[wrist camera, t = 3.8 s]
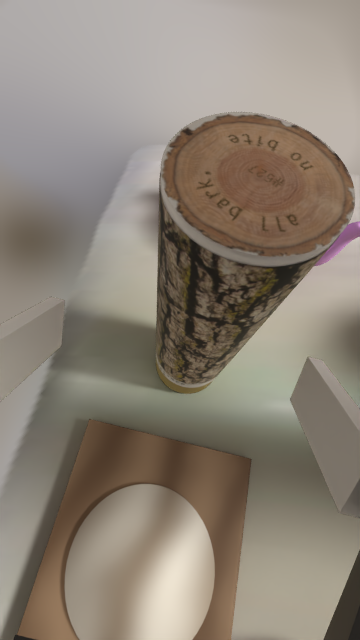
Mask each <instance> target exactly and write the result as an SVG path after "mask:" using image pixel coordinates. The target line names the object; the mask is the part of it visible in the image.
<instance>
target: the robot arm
mask: <svg viewBox="0 0 360 640" xmlns="http://www.w3.org/2000/svg"><path fill="white" fill-rule="evenodd" d="M64 306H65V300H63V299H58V298H54V297H49V298H48V299H46V300H44V301H42V302H40V303H38V304H37V305H35V306H33V307H31V308H29V309H27V310H26V311H24V312H22V313H20V314H18V315H16V316H14V317H13V318H11V319H9V320H7V321H5V322H3V323H1V324H0V402H1V401H2V400H3V399H4V398H5V397H6V396H7V395H8V394H9V393H11V392H12V391H13V390H14V389H15V388H16V387H17V386H18V385H19V384H20V383H21V382H23V381H24V380H25V379H26V378H27V377H28V376H29V375H30V374H31V373H32V372H33V371H35V370H36V369H37V368H38V367H39V366H40V365H41V364H42V363H43V362H44V361H46V360H47V359H48V358H49V357H50V356H51V355H52V354H53V353H54V352H55V351H56V350H58V349H59V348H60V347H61V346H62V332H63V319H64ZM290 401H291V403H292V405H293V408H294V410H295V412H296V415H297V417H298V419H299V421H300V424H301V426H302V428H303V431H304V433H305V435H306V438H307V440H308V442H309V444H310V447H311V449H312V451H313V454H314V456H315V458H316V461H317V463H318V465H319V467H320V470H321V472H322V474H323V477H324V479H325V481H326V484H327V486H328V488H329V490H330V493H331V495H332V497H333V500H334V502H335V504H336V507H337V509H338V511H339V513H341V514H345V515H349V516H353V517H358V518H360V409H359V407H358V406H357V405H356V403H355V402H354V401H353V399H352V398H351V397H350V396H349V394H348V393H347V392H346V390H345V389H344V388H343V386H342V385H341V384H340V382H339V381H338V380H337V379H336V377H335V376H334V375H333V373H332V372H331V371H330V369H329V368H328V367H327V366H326V364H325V363H324V362H323V360H320V359H316V358H312V357H308V358H307V360H306V362H305V365H304V367H303V370H302V372H301V374H300V377H299V379H298V382H297V384H296V386H295V389H294V391H293V394H292V396H291V398H290ZM14 640H36V639H32V638H28V637H24V636H20V635H15V637H14ZM324 640H360V551H359V553H358V555H357V558H356V560H355V563H354V565H353V568H352V570H351V573H350V575H349V578H348V580H347V583H346V585H345V588H344V590H343V593H342V595H341V598H340V600H339V603H338V605H337V608H336V610H335V612H334V615H333V617H332V620H331V622H330V625H329V627H328V630H327V632H326V635H325V637H324Z"/></svg>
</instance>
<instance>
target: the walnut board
mask: <svg viewBox="0 0 360 640" xmlns="http://www.w3.org/2000/svg"><path fill="white" fill-rule="evenodd" d="M250 467H251V459H249V458H245V457H241V456H237V455H233V454H229V453H225V452H221V451H217V450H213V449H209V448H205V447H200V446H196V445H192V444H188V443H184V442H180V441H176V440H172V439H168V438H164V437H160V436H156V435H152V434H148V433H144V432H140V431H136V430H132V429H128V428H124V427H120V426H116V425H112V424H108V423H103V422H99V421H95V420H91V419H89V422H88V425H87V428H86V431H85V434H84V437H83V440H82V443H81V446H80V449H79V452H78V455H77V458H76V461H75V464H74V467H73V470H72V473H71V476H70V479H69V482H68V485H67V488H66V490H65V493H64V496H63V499H62V502H61V505H60V508H59V511H58V514H57V517H56V520H55V523H54V526H53V529H52V532H51V535H50V538H49V541H48V544H47V547H46V550H45V553H44V556H43V559H42V562H41V565H40V568H39V571H38V574H37V577H36V580H35V583H34V586H33V589H32V592H31V595H30V598H29V601H28V604H27V607H26V610H25V612H24V615H23V618H22V621H21V624H20V627H19V630H18V633H17V635H20V636H24V637H28V638H32V639H36V640H231V633H232V625H233V616H234V607H235V598H236V590H237V581H238V572H239V563H240V554H241V546H242V537H243V528H244V519H245V511H246V502H247V493H248V484H249V476H250Z"/></svg>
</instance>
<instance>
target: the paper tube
mask: <svg viewBox="0 0 360 640" xmlns="http://www.w3.org/2000/svg"><path fill="white" fill-rule="evenodd" d="M354 206H355V191H354V186H353V182H352V179H351V177H350V174H349V172H348V170H347V169H346V167H345V165H344V164H343V162H342V161H341V159H340V158H339V157H338V156H337V154H336V153H335V152H334V151H333V150H332V149H331V148H330V147H329V146H328V145H327V144H326V143H324V142H323V141H322V140H321V139H319V138H318V137H317V136H315V135H313V134H312V133H311V132H309V131H307V130H305V129H303V128H302V127H299V126H297V125H295V124H293V123H291V122H288V121H286V120H283V119H280V118H276V117H272V116H269V115H264V114H258V113H250V112H249V113H248V112H228V113H220V114H215V115H211V116H207V117H204V118H201V119H199V120H196V121H194V122H192V123H190V124H189V125H187V126H185V127H184V128H183V129H181V130H180V131H179V132H178V133H177V134H176V135H175V136H174V137H173V138H172V139H171V140H170V142H169V144H168V145H167V147H166V149H165V151H164V154H163V157H162V162H161V173H160V185H159V231H158V277H157V324H156V368H157V372H158V375H159V377H160V378H161V380H162V381H163V383H164V384H165V385H166V386H168V387H169V388H170V389H172V390H174V391H176V392H179V393H185V394H190V393H196V392H199V391H201V390H203V389H205V388H206V387H207V386H208V385H209V384H210V383H211V382H212V381H213V380H214V379H215V378H216V377H217V376H218V375H219V373H220V372H221V371H222V370H223V369H224V368H225V367H226V365H227V364H228V363H229V362H230V361H231V360H232V359H233V357H234V356H235V355H236V354H237V353H238V352H239V351H240V349H241V348H242V347H243V346H244V345H245V344H246V343H247V342H248V340H249V339H250V338H251V337H252V336H253V335H254V334H255V332H256V331H257V330H258V329H259V328H260V327H261V326H262V324H263V323H264V322H265V321H266V320H267V319H268V318H269V316H270V315H271V314H272V313H273V312H274V311H275V310H276V308H277V307H278V306H279V305H280V304H281V303H282V302H283V301H284V299H285V298H286V297H287V296H288V295H289V294H290V293H291V291H292V290H293V289H294V288H295V287H296V286H297V285H298V283H299V282H300V281H301V280H302V279H303V278H304V277H305V275H306V274H307V273H308V272H309V271H310V270H311V269H312V267H313V266H314V265H315V264H316V263H317V262H318V261H319V260H320V258H321V257H322V256H323V255H324V254H325V253H326V252H327V250H328V249H329V248H330V247H331V246H332V245H333V244H334V242H335V241H336V240H337V238H338V237H339V236H340V234H341V233H342V232H343V231H344V229H345V228H346V227H347V225H348V223H349V221H350V220H351V217H352V214H353V211H354Z"/></svg>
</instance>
